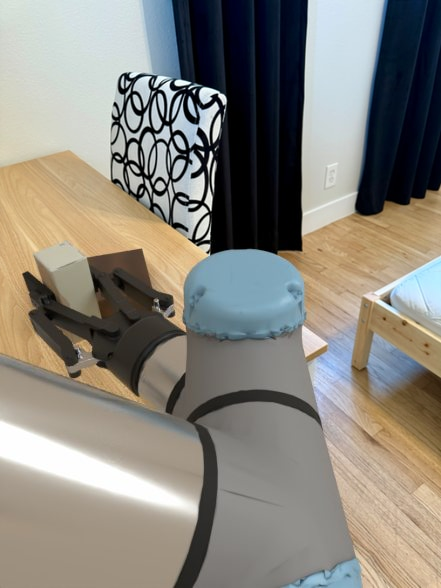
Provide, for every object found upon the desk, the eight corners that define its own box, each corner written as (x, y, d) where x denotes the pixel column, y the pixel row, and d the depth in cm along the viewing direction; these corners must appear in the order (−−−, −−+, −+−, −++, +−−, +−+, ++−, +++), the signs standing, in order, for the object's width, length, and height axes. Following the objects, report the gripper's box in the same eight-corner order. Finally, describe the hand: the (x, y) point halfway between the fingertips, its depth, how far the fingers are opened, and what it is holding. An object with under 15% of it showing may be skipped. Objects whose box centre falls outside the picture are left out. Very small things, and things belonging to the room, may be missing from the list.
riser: (61, 332, 71) (53, 309, 68) (62, 284, 82) (55, 262, 79) (156, 313, 74) (153, 290, 71) (145, 269, 85) (142, 248, 82)
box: (56, 325, 55) (30, 251, 48) (86, 310, 57) (66, 237, 50) (74, 346, 52) (50, 270, 45) (106, 329, 54) (87, 255, 47)
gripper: (94, 450, 38) (-12, 329, 51) (231, 347, 48) (112, 267, 61) (74, 396, 33) (-37, 278, 47) (230, 294, 43) (101, 220, 56)
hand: (47, 272), depth 54 cm, fingers closed on box, 4 cm apart
